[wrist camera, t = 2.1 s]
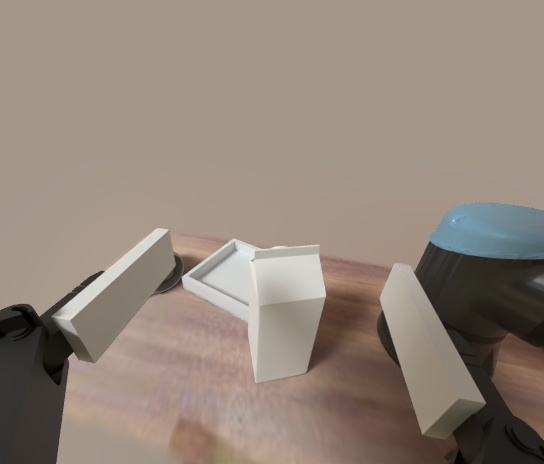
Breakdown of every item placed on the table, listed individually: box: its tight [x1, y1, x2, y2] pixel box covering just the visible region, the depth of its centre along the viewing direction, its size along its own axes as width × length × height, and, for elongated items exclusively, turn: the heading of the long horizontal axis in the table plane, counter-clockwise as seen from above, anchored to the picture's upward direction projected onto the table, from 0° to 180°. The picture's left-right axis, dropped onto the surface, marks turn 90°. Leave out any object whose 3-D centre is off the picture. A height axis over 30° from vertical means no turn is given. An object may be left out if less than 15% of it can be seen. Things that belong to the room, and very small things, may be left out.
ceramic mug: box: [154, 252, 184, 293], centre depth 42 cm, size 11×8×8 cm
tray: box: [182, 239, 260, 323], centre depth 46 cm, size 16×16×3 cm
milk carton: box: [248, 245, 326, 383], centre depth 29 cm, size 7×7×19 cm
